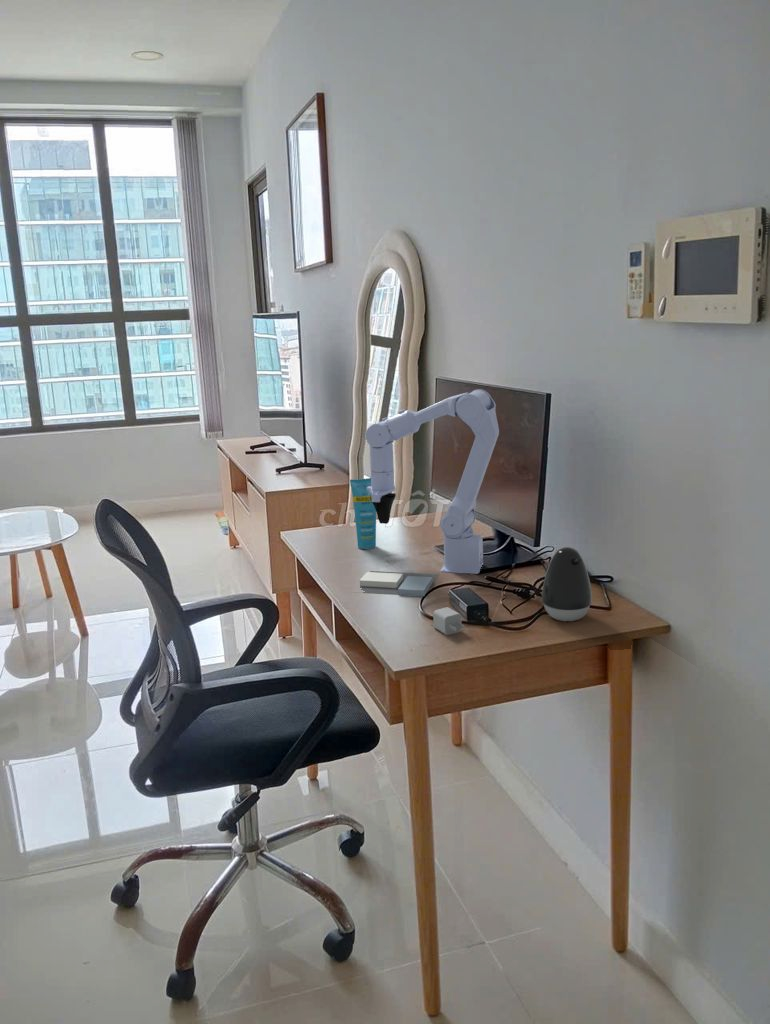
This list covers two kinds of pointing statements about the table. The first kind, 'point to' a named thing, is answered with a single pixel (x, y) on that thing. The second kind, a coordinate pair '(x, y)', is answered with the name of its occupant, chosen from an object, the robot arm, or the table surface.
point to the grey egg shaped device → (567, 586)
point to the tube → (364, 513)
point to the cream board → (381, 579)
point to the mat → (393, 590)
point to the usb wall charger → (447, 621)
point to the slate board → (415, 586)
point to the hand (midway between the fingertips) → (384, 522)
